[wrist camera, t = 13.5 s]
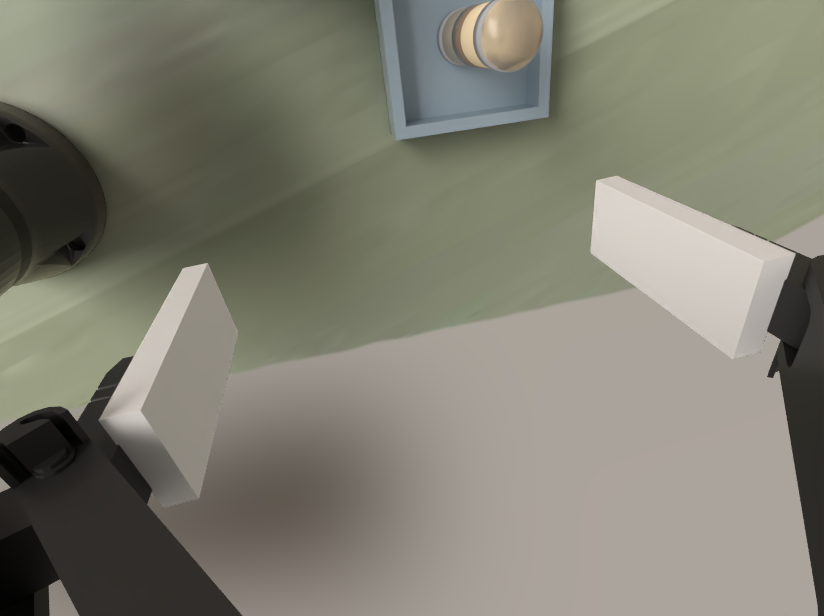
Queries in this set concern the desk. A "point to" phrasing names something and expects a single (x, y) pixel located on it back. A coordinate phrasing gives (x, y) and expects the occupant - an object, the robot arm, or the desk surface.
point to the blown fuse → (492, 35)
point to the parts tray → (452, 74)
